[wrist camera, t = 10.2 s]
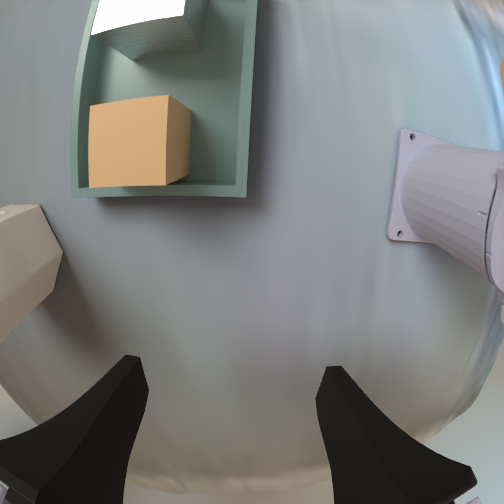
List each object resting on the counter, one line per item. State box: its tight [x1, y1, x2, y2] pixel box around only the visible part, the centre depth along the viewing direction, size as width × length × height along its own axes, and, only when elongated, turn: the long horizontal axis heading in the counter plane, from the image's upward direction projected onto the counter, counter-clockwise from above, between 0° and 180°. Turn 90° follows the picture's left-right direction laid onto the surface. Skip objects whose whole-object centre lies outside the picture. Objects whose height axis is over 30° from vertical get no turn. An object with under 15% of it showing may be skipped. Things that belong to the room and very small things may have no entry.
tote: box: [70, 0, 258, 198], centre depth 13 cm, size 11×15×2 cm
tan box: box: [88, 95, 192, 188], centre depth 13 cm, size 4×4×5 cm
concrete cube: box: [91, 0, 208, 61], centre depth 9 cm, size 5×5×6 cm
